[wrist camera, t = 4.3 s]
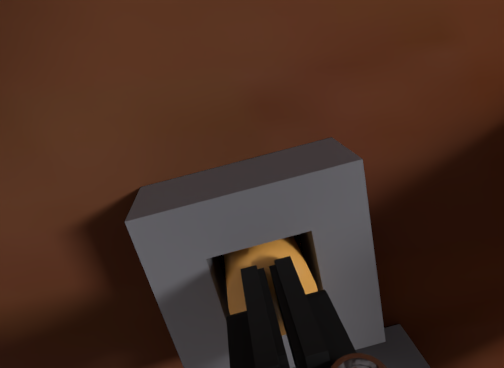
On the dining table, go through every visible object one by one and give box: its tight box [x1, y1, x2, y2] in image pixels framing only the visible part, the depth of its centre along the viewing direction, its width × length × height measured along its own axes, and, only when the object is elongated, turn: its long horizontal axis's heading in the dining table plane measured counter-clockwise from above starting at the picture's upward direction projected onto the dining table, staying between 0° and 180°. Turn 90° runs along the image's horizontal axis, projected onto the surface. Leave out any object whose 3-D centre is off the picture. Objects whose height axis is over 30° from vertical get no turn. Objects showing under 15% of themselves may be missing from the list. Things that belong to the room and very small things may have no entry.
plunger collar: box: [125, 137, 386, 368], centre depth 14 cm, size 8×8×3 cm
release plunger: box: [224, 236, 318, 335], centre depth 14 cm, size 3×3×4 cm
